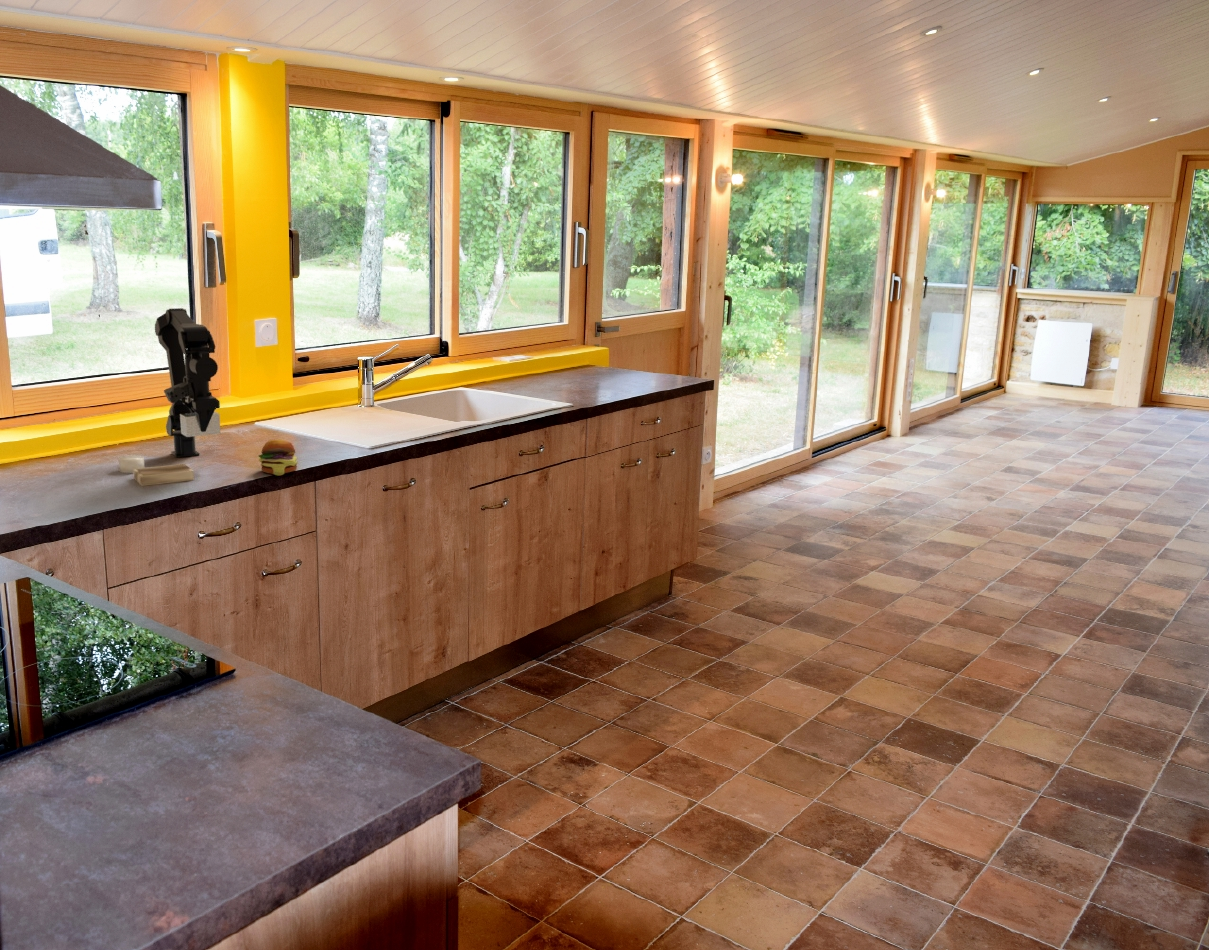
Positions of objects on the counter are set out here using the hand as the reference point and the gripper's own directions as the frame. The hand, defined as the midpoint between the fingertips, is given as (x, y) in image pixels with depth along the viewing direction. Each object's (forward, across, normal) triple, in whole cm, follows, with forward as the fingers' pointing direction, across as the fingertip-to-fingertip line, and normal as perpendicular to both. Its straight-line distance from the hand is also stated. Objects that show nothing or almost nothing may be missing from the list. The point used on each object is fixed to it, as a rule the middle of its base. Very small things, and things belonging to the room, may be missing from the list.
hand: (200, 429), depth 293 cm
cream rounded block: (+11, -7, -17) cm, 21 cm away
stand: (+11, +7, -12) cm, 18 cm away
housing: (+1, 0, 0) cm, 1 cm away
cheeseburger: (+11, +12, +17) cm, 24 cm away
